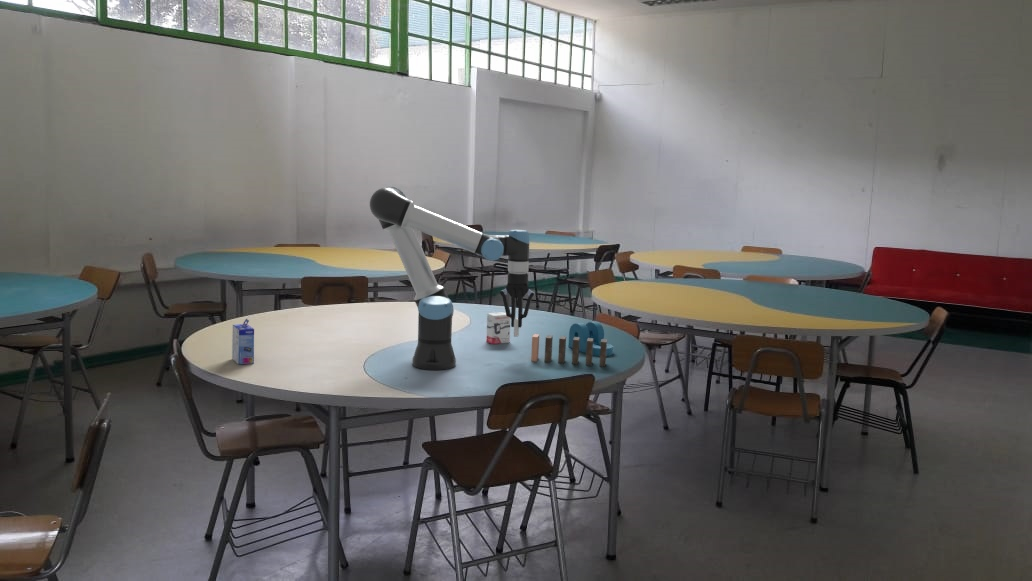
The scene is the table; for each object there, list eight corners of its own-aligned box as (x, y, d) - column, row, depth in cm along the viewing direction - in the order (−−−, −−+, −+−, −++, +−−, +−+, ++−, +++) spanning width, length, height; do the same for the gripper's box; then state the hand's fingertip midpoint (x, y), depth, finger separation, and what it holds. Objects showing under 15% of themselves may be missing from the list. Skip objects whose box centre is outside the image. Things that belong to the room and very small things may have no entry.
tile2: (551, 359, 279) (552, 335, 278) (549, 362, 274) (551, 338, 273) (546, 358, 280) (547, 335, 278) (544, 361, 275) (545, 337, 273)
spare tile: (538, 358, 280) (539, 334, 279) (536, 361, 275) (537, 337, 274) (533, 357, 280) (534, 334, 279) (531, 360, 276) (532, 336, 274)
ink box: (492, 344, 300) (493, 315, 298) (485, 341, 304) (486, 313, 302) (510, 342, 304) (511, 313, 303) (503, 340, 308) (504, 311, 307)
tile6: (605, 363, 276) (607, 339, 275) (605, 366, 271) (606, 342, 270) (600, 362, 277) (601, 338, 275) (599, 366, 272) (600, 341, 270)
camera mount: (568, 347, 300) (569, 321, 299) (588, 345, 306) (590, 319, 305) (597, 357, 286) (599, 330, 284) (618, 354, 292) (620, 328, 290)
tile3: (564, 360, 279) (566, 336, 277) (563, 363, 274) (564, 339, 272) (559, 359, 279) (560, 335, 278) (558, 362, 274) (559, 338, 273)
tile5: (592, 362, 277) (593, 338, 276) (591, 365, 272) (592, 341, 271) (586, 361, 277) (587, 337, 276) (585, 365, 272) (586, 340, 271)
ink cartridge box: (255, 363, 256) (254, 322, 254) (238, 365, 253) (237, 323, 251) (248, 357, 264) (247, 316, 262) (231, 358, 261) (231, 317, 259)
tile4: (578, 361, 278) (579, 337, 276) (577, 364, 273) (578, 340, 272) (573, 360, 278) (574, 336, 277) (571, 364, 273) (573, 339, 272)
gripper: (537, 272, 277) (535, 334, 280) (502, 270, 279) (500, 332, 282) (534, 274, 270) (532, 339, 273) (498, 272, 272) (496, 336, 275)
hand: (516, 335), depth 278 cm, fingers closed
